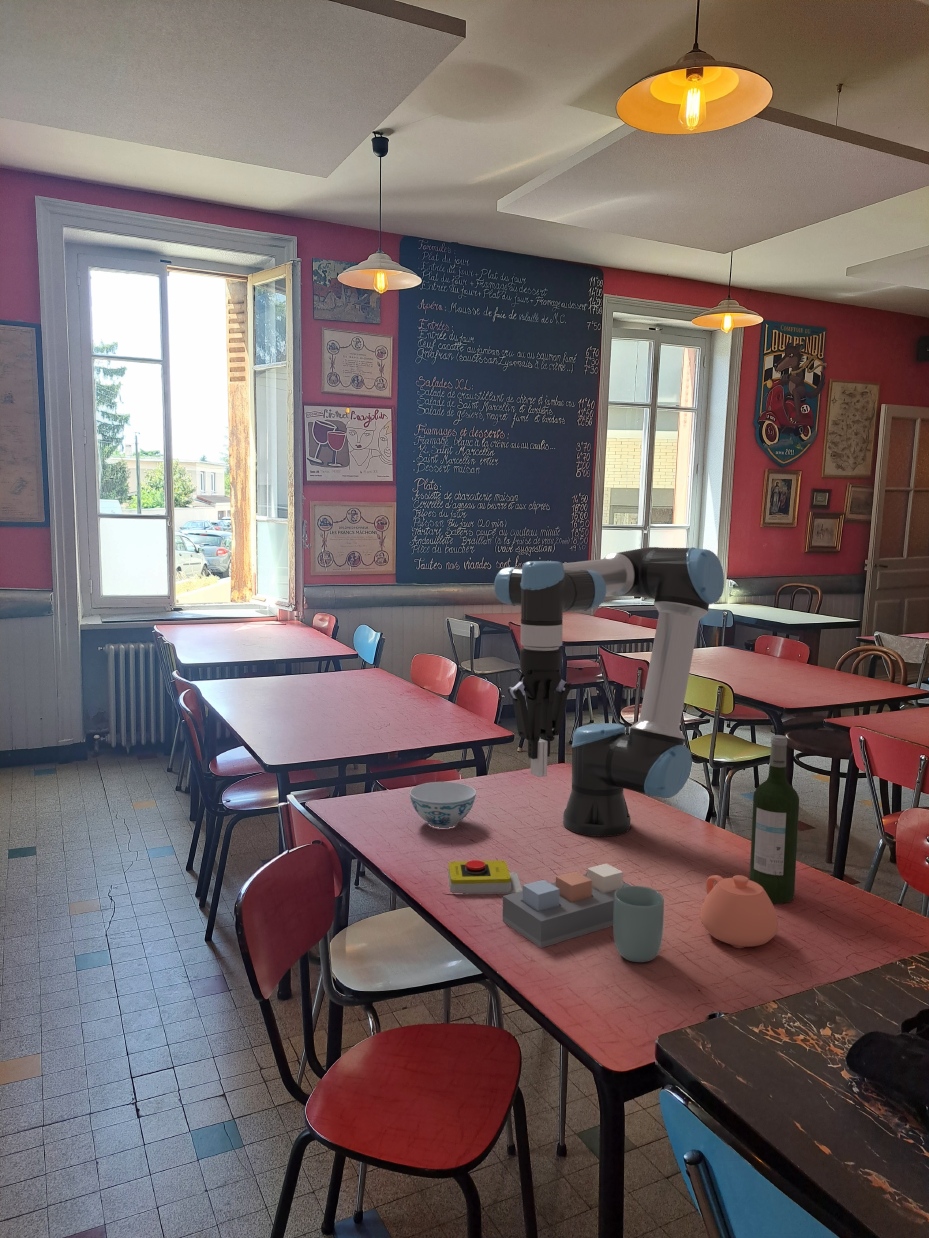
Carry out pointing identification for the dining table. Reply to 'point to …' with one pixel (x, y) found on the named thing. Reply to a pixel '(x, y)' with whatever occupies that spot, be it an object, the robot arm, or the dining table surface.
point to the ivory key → (605, 878)
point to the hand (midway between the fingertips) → (538, 774)
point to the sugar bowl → (738, 912)
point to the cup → (638, 922)
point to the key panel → (559, 917)
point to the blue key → (541, 895)
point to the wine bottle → (775, 829)
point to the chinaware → (442, 802)
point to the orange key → (574, 886)
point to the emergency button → (482, 877)
